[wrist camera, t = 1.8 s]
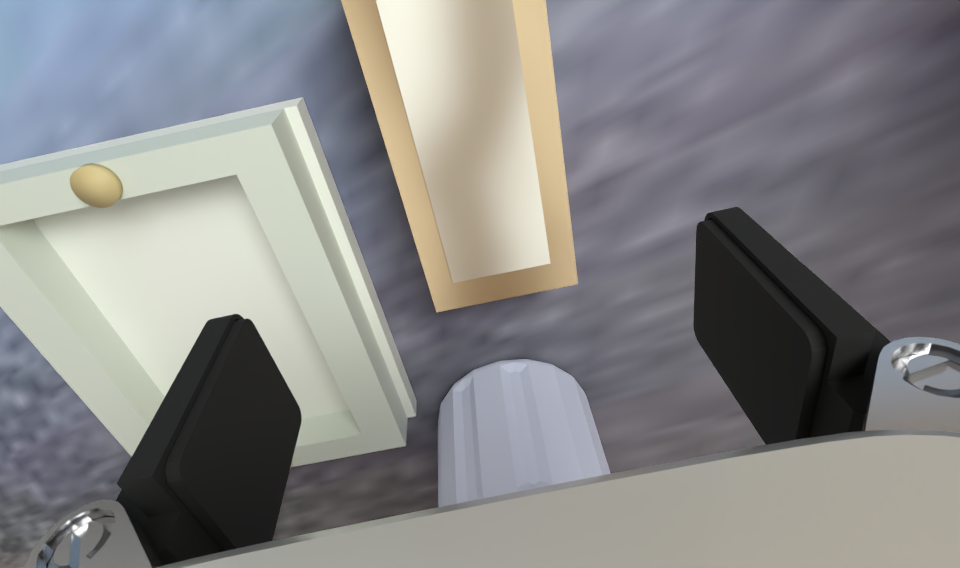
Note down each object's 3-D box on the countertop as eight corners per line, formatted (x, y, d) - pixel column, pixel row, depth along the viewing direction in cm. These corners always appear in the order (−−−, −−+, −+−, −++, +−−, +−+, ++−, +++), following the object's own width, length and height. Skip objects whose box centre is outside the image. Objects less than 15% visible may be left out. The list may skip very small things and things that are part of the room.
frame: (513, -89, 19) (535, -91, 15) (555, 227, 27) (578, 284, 22) (350, -50, 20) (327, -42, 15) (436, 251, 27) (436, 313, 23)
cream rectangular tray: (302, 95, 22) (281, 123, 19) (416, 401, 32) (414, 450, 29) (-41, 172, 23) (-112, 210, 20) (176, 447, 33) (150, 499, 30)
